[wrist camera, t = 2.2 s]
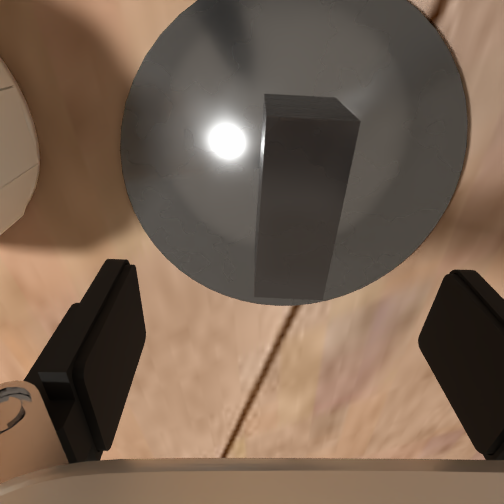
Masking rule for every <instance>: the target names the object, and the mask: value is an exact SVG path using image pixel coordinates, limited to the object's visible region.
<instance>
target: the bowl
mask: <svg viewBox="0 0 504 504" xmlns="http://www.w3.org/2000/svg"><path fill="white" fill-rule="evenodd" d="M39 169H40V152H39V142H38V137H37V133H36V129H35V124H34V121H33V118H32V116H31V113H30V110H29V107H28V104H27V102H26V100H25V98H24V96H23V94H22V92H21V90H20V88H19V86H18V84H17V82H16V80H15V79H14V77H13V75H12V74H11V72H10V71H9V69H8V67H7V66H6V64H5V63H4V61H3V60H2V59H1V57H0V235H1V234H2V233H4V232H5V231H6V230H7V229H8V228H9V227H11V226H12V225H13V224H14V223H15V222H17V221H18V220H19V219H20V218H21V217H22V216H23V215H24V213H25V209H26V206H27V205H28V203H29V201H30V200H31V198H32V196H33V194H34V191H35V189H36V186H37V181H38V177H39Z"/></svg>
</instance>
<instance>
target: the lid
mask: <svg viewBox="0 0 504 504" xmlns="http://www.w3.org/2000/svg"><path fill="white" fill-rule="evenodd" d="M467 127H468V120H467V109H466V98H465V94H464V90H463V86H462V82H461V78H460V74H459V72H458V70H457V67H456V65H455V63H454V60H453V58H452V55H451V53H450V51H449V49H448V48H447V46H446V45H445V43H444V41H443V40H442V38H441V37H440V35H439V33H438V32H437V30H436V29H435V28H434V27H433V26H432V24H431V23H430V22H429V21H428V20H427V19H426V18H425V17H424V16H423V14H422V13H421V12H420V11H419V10H418V9H417V8H416V7H414V6H413V5H412V4H410V3H409V2H408V1H407V0H197V1H196V2H195V3H194V4H192V5H191V6H190V7H188V8H187V9H186V10H185V11H183V12H182V13H181V14H180V15H179V16H178V17H177V18H176V19H175V20H174V21H173V22H172V23H171V24H170V25H169V26H168V27H167V28H166V29H165V30H164V31H163V33H162V34H161V35H160V36H159V38H158V39H157V40H156V42H155V43H154V45H153V46H152V48H151V49H150V50H149V52H148V53H147V55H146V56H145V58H144V60H143V62H142V64H141V66H140V68H139V70H138V72H137V74H136V76H135V78H134V80H133V83H132V86H131V89H130V92H129V95H128V98H127V101H126V104H125V110H124V115H123V121H122V126H121V148H120V151H121V162H122V172H123V176H124V181H125V185H126V189H127V193H128V196H129V199H130V201H131V204H132V207H133V209H134V212H135V214H136V216H137V218H138V220H139V221H140V223H141V225H142V227H143V229H144V230H145V232H146V233H147V235H148V236H149V238H150V239H151V241H152V242H153V243H154V245H155V246H156V247H157V248H158V249H159V250H160V251H161V253H162V254H163V255H164V256H165V257H166V258H167V259H168V260H169V261H170V262H171V263H172V264H174V265H175V266H176V267H177V268H178V269H179V270H180V271H182V272H183V273H185V274H186V275H187V276H189V277H190V278H192V279H193V280H195V281H196V282H198V283H200V284H202V285H203V286H205V287H207V288H209V289H211V290H213V291H216V292H218V293H221V294H223V295H225V296H228V297H232V298H235V299H238V300H242V301H246V302H251V303H257V304H265V305H275V306H289V305H303V304H312V303H317V302H322V301H327V300H330V299H334V298H337V297H340V296H343V295H346V294H349V293H351V292H354V291H356V290H358V289H361V288H363V287H365V286H367V285H369V284H370V283H372V282H374V281H376V280H378V279H379V278H381V277H382V276H384V275H385V274H387V273H388V272H390V271H391V270H393V269H394V268H395V267H397V266H398V265H399V264H400V263H402V262H403V261H404V260H405V259H406V258H408V257H409V256H410V255H411V254H412V253H413V252H414V251H415V250H416V249H417V248H418V247H419V246H420V245H421V244H422V242H423V241H424V240H425V239H426V237H427V236H428V235H429V234H430V232H431V231H432V230H433V229H434V227H435V226H436V224H437V223H438V221H439V220H440V218H441V216H442V215H443V213H444V211H445V210H446V208H447V206H448V204H449V202H450V200H451V197H452V195H453V193H454V191H455V189H456V186H457V183H458V180H459V177H460V174H461V171H462V167H463V162H464V157H465V151H466V146H467Z"/></svg>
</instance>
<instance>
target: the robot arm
mask: <svg viewBox="0 0 504 504" xmlns="http://www.w3.org/2000/svg"><path fill="white" fill-rule="evenodd" d="M145 338H146V329H145V323H144V316H143V310H142V304H141V297H140V291H139V284H138V278H137V271H136V267H135V265H130V263H129V261H128V260H122V259H107V260H106V261H105V262H104V264H103V266H102V267H101V269H100V271H99V272H98V274H97V276H96V277H95V279H94V281H93V282H92V284H91V285H90V287H89V289H88V290H87V292H86V294H85V295H84V297H83V299H82V300H81V302H80V303H75V304H73V305H72V306H71V307H70V308H69V310H68V312H67V313H66V315H65V316H64V318H63V319H62V321H61V323H60V324H59V326H58V327H57V329H56V330H55V332H54V334H53V335H52V337H51V338H50V340H49V341H48V343H47V345H46V346H45V348H44V349H43V351H42V352H41V354H40V356H39V357H38V359H37V360H36V362H35V364H34V365H33V367H32V368H31V370H30V371H29V373H28V375H27V376H26V378H25V379H24V381H11V382H5V383H2V384H0V504H504V299H503V298H502V297H501V296H500V295H499V294H498V293H497V292H496V291H495V290H494V289H493V288H492V287H491V286H490V285H489V284H488V283H487V282H486V281H485V280H484V279H483V278H482V277H481V276H480V275H479V274H478V273H477V272H476V271H474V270H452V271H451V272H450V274H447V275H446V276H445V277H444V278H443V281H442V283H441V286H440V288H439V290H438V293H437V295H436V297H435V300H434V302H433V304H432V307H431V309H430V312H429V314H428V316H427V319H426V321H425V323H424V326H423V328H422V331H421V333H420V335H419V338H418V344H419V348H420V350H421V352H422V353H423V355H424V357H425V359H426V361H427V362H428V364H429V366H430V368H431V370H432V371H433V373H434V375H435V377H436V379H437V380H438V382H439V384H440V386H441V388H442V389H443V391H444V393H445V395H446V397H447V398H448V400H449V402H450V404H451V406H452V408H453V409H454V411H455V413H456V415H457V417H458V418H459V420H460V422H461V424H462V426H463V427H464V429H465V431H466V433H467V435H468V436H469V438H470V440H471V442H472V444H473V445H474V447H475V449H476V450H477V451H478V452H479V453H481V454H483V456H484V457H485V459H486V460H441V459H329V458H162V459H117V460H101V461H100V459H101V456H102V453H103V451H108V450H109V449H110V448H111V445H112V443H113V440H114V436H115V433H116V430H117V427H118V424H119V421H120V418H121V415H122V412H123V409H124V405H125V402H126V399H127V396H128V393H129V390H130V387H131V384H132V381H133V378H134V374H135V371H136V368H137V365H138V362H139V359H140V356H141V353H142V350H143V346H144V343H145Z"/></svg>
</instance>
